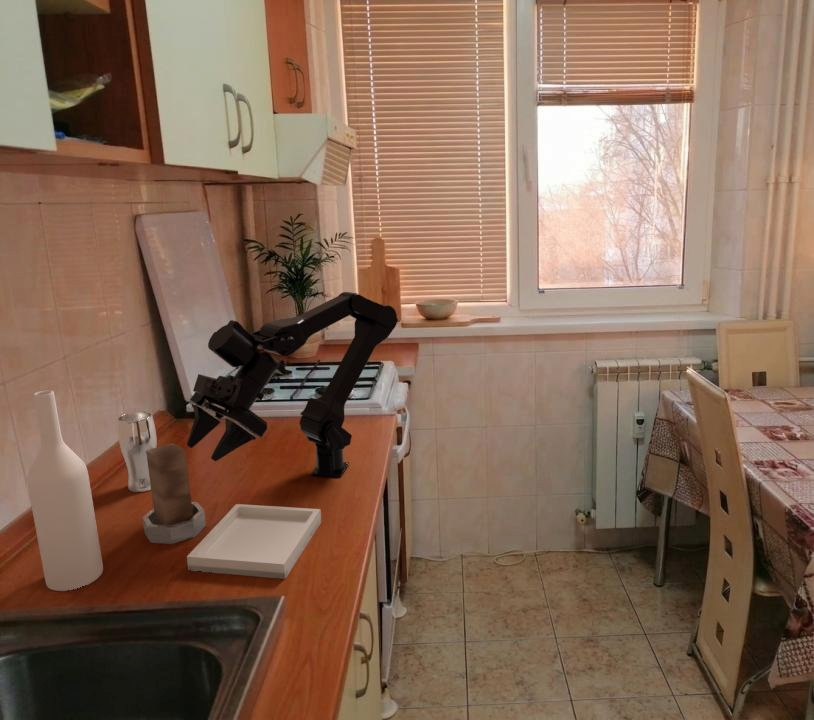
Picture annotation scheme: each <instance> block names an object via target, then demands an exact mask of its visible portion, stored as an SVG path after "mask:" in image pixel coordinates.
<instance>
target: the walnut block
mask: <svg viewBox="0 0 814 720" xmlns="http://www.w3.org/2000/svg"><path fill="white" fill-rule="evenodd" d="M186 454H187V453H186V449H184V448H183V447H181V446H179V445H177V444H175V443H173V442H172V443H168V444H164V445H162V446H157V448H153V449H150V450H146V455H147V462H148V470H149V477H150V484H151V490H150V492H151V497H152V498H151V499H152V506H153V508H154V514H155V522H156V525H168V526H171V525H174V524H178V523H181V522H184V521H188V520H190V519H191V518H192V517H193V511H192V503H191V502H192V496H191V495H192V494H191V489H190V478H189V471H188V462H187V455H186Z"/></svg>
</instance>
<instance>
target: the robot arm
mask: <svg viewBox="0 0 814 720" xmlns="http://www.w3.org/2000/svg"><path fill="white" fill-rule="evenodd" d="M347 317H352V318H353V319H355V321H354V336H353V338H352V341H351V343H350V344H349V346H348V348H347V350H346V352H345V353H344V355H343V357H342V359H341V361H340V363H339V364H338V367H337V368H336V370H335V372H334V374H333V376H332V378H331V380H330V381H329V383H328V385H327V387H326V388H325V391H324V393H323V394H322V395H321V396H319V397H318V398H313V397H310V398H309V399H308V401H307V402H306V405H305V408H304V409H303V410H302V411H301V412H300V414H299V415H301V417H300V420H299V426H300V431H301V433H302V434H303V435H305V437H306V439H307V441H308V442H311V443H314V445H315V447H314V448H315V460H316V466H315V467H314V469H313V470H311V471H312V472H311V476H319V477H321V476H322V477H336V476H340V477H342V476H343V475H342V473H343V472H344V471H345V472H346V470H347V469H346V467H347V466H348V464H349V465H350V463H349V462H345V461H344V449H345V448H346V447H348V446H350V445H351V441H352V437H353V436H352V434H351V433H349V431H347V430H346V429H345V428H343V425H344V421H345V406H346V403H347V401H348V399H349V398H350V395H351V393H352V392H353V390H354V388H355V386H356V384H357V382H358V380H359V379H360V377H361V375H362V373H363V371H364V369H365V367H366V365H367V364H368V361H369V359H370V357H371V356H372V354H373V352H374V350H375V348H376V347H377V346H379V344H381V343H382V342H384V341H385V340H386V339H388V338H389V336H390V335H391V333H392V332H393V331H394V329H395V328H396V326H397V324H398V315H397V312H396V309H395V308H394V307H393V306H392V305H386V304H380V303H378V302H376V301H373V300H370V299H368V298H366V297H365V296H363V295H361V294H360V293H357V292H350V291H344V292H341V293H339V294H338V296H335V297H333V298H331V299H329V300H328V301H325V302H323V303H321V304H320V305H318V306H316V307H313V308H311V309H308V311H305V312H303V313H302V314H299V315H297V316H294V317H287V318H281V319H277V320H273V321H269V322H266V323H265V324H263V325H261V327H260V329H258V330H256V331H253V332H248V331H247V330H246V329H245V328H244V327H243V325H241V323H239V322H238V321H237V320H234V319H233V320H232V319H231V320H229V321H228V322H227V324H226V325H223V326H221V327H219V329H217V330H216V331H214V332H213V333H212V335H211V336H210V339H209V340H208V343H207V346H208V347H207V348H208V349H209V350H210V351H211V352H213V353H214V354H215V355H216V356H218V357H219V358H220V359H221V360H222V361H224V362H226V364H228V365H229V366H230V367H231V368H238V367H239V369H237V372H235V375H231V374H229V375H227V376H222V375H219V376H218V377H217V378H216V377H215V378H214V377H211V376H207V375H204V374H201V373H200V374H199V373H198V374H197V377H196V381H195V383H194V386H193V389H192V391H193V392H194V394H192V396H191V397H190V399H189V401H190V402H191V408H192V409H193V414H194V418H193V423H192V427H191V429H190V432H189V436H188V439H187V441H186V446H187V447H188V448H191V449H192V448H194V447H195V446H196V445H197V444H199V443H200V442H201V441H202V440H203V439H204V438H205V437H206V436H208V435H209V434H210V433H211V432H212V431H213V430H214V429H215V428H216V427H218V425H220V424H221V421H220V420H221V419H223V418H224V417H225V431H224V433H223V434H222V436H221V438H220V440H219V442H218V443H217V445H216V446H215V448H214V450H213V453H212V454H211V457H210V459H211V460H213V461H214V462H218V461H219V460H221V459H222V458H224V457H225V456H227V455H228V454H229V455H230V454H231V453H232V452H233V451H235V450H237V449H239V448H240V447H241V446H244V445H245V444H247V443H249V442H251V441H255V440H256V439H257V437H258V438H260V439H262V438H263V436H265V434H266V432H267V431H268V422H267V421H266V420H264V419H263V418H261V417H260V416H259V415H258V414H256V413H255V412H253V411H252V410H251V409H252V407H253V405H254V403H255V402H256V401H257V400H259V401H263V399H264V397H265V396H264V395H263V394H262V392H263V391H264V389H265V387H266V386H267V384H268V383H269V382H270V380H271V378H272V376H273V375H274V374H275V373H276V374H281V375H282V376H286V374H287V370H286V369H287V368H286V367H285V360H284V359H281V358H275V357H274V356H272V355H271V354H270V353H272V354H276V355H278V356H283V357H289V356H292V355H293V354H295V353H296V352H297V351H298V350H300V349H301V348H302V347H303V346H304V345H305V344H306V343H307V341H308V340H309V338H311V337H312V336H313V335H315V334H317V333H318V332H321V331H323V330H324V329H326V328H329V327H330V326H332V325H334V324H335V323H339V321H342V320H343V319H345V318H347ZM258 348H259V349H262V350H264V351H263V352H261V351H260V350H259V349H258ZM265 351H266V352H265ZM346 463H348V464H346ZM348 467H349V466H348ZM348 467H347V468H348ZM345 469H346V470H345ZM345 472H344V473H345ZM344 473H343V474H344ZM341 475H342V476H341Z"/></svg>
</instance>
